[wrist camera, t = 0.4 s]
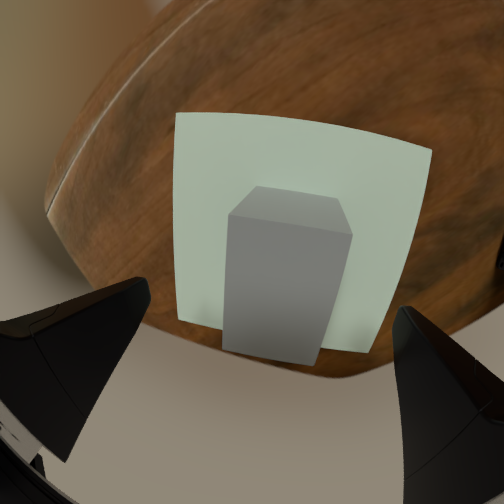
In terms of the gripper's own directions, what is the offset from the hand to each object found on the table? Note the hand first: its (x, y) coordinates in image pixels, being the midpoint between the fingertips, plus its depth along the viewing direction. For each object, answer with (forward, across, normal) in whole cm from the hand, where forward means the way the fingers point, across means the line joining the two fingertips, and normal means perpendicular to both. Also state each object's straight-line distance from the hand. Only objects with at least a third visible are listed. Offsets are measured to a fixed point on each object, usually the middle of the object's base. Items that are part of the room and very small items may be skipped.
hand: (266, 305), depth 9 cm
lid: (+7, 0, 0) cm, 7 cm away
